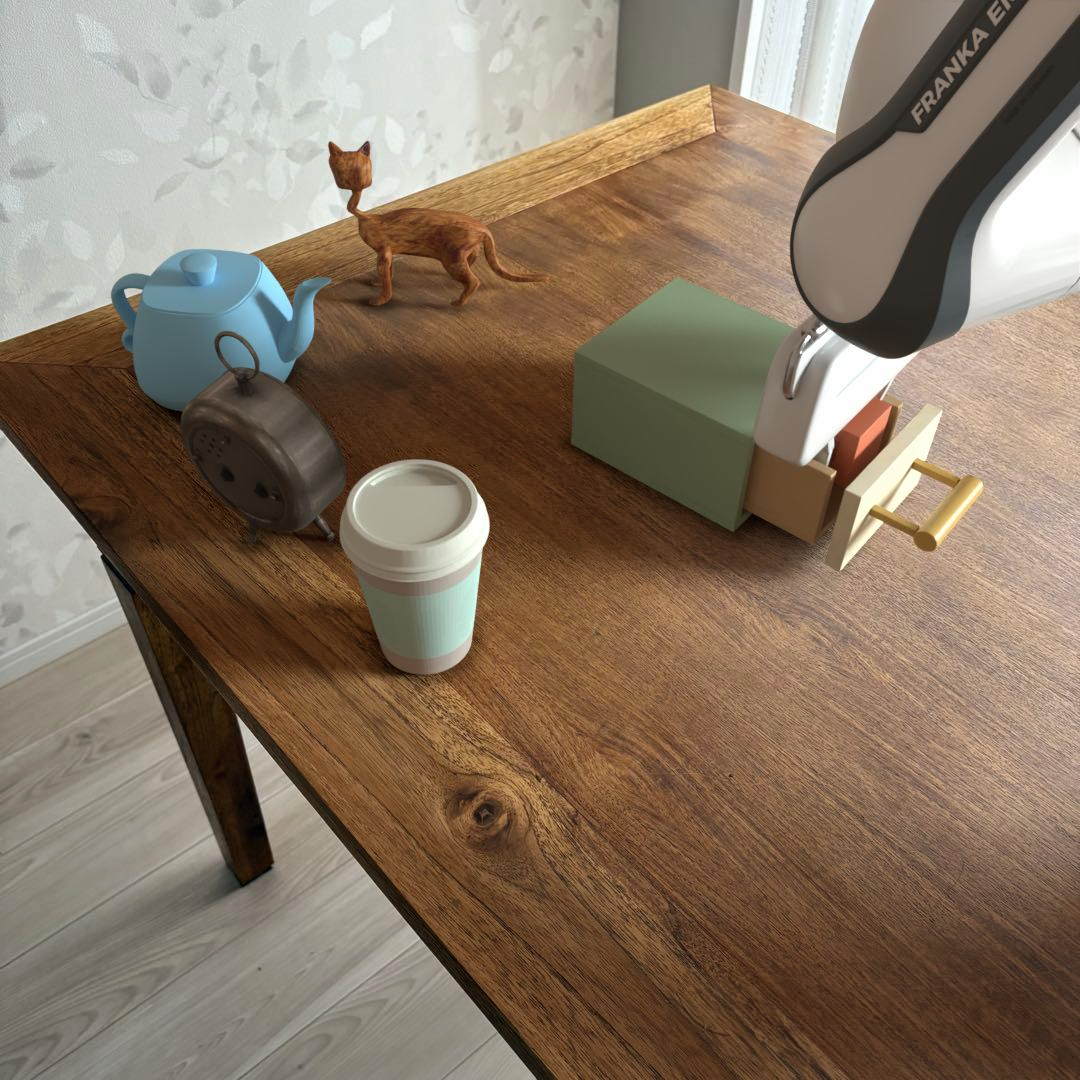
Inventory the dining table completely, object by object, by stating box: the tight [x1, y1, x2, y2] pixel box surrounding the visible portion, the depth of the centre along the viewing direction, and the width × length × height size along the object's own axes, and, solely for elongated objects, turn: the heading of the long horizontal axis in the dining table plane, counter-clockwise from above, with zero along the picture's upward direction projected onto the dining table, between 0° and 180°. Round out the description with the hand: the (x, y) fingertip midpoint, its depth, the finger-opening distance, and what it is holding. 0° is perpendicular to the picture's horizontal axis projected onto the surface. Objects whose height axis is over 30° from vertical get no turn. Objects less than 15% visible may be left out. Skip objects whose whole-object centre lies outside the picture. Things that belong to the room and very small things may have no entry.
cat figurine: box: [327, 140, 551, 307], centre depth 94 cm, size 18×7×14 cm, turn 93°
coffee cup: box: [339, 458, 491, 676], centre depth 66 cm, size 8×8×12 cm
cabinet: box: [570, 276, 797, 533], centre depth 81 cm, size 15×13×9 cm
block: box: [828, 398, 892, 488], centre depth 74 cm, size 4×4×4 cm
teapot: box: [110, 248, 332, 412], centre depth 86 cm, size 13×11×18 cm
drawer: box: [743, 393, 984, 572], centre depth 76 cm, size 18×11×7 cm, turn 50°
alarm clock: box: [180, 331, 347, 544], centre depth 72 cm, size 11×5×16 cm, turn 58°
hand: (838, 440), depth 75 cm, fingers closed on block, 4 cm apart
